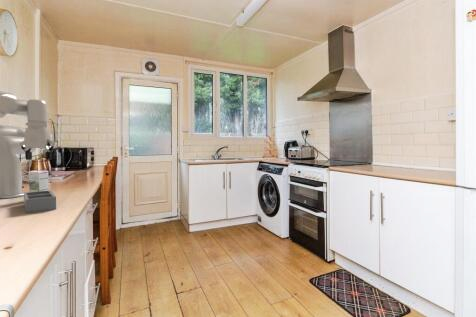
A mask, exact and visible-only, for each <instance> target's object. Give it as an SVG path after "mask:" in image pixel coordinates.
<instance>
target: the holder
mask: <svg viewBox="0 0 476 317" xmlns="http://www.w3.org/2000/svg"><path fill="white" fill-rule="evenodd" d="M23 207H24V210H25V214H29V213H37V212H44V211H45V212H46V211H52V210H57V196H56V195H55V193H54V192H53V191H52V190H48V191H37V192H29V191H27V192H26V193H24V196H23Z"/></svg>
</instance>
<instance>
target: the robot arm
mask: <svg viewBox="0 0 476 317" xmlns="http://www.w3.org/2000/svg"><path fill="white" fill-rule="evenodd" d="M8 114H10V115H16V116H17V115H18V116H26V117H27V118H26V119H27V122H26V123H25V126H27V127H26V128H25V131H24V130H23V129H22V128H21V127H17V126H11V125H10V126H9V125H8V126H7V125H0V199H12V198H19V197H24V193H26V192H25V191H23V176H22V174H23V172H22V162H21V160H20V158H19V157H18V155H24V156H25V157H24V158H25V160H26V161H30V160H33V153H34V152H36V149H44V150H45V160H47V161H50V160H52V159H53V158H52V157H53V151H54V150H55V149H56V146H57V144H58V143H57V142H55V141H53V140H52V139H51V133H50V130H49V128H48V119H47V118H48V116H47V115H48V114H47V102H46V101H45V100H41V99H28V100H25V99H17V97H16V96H15V95H14V94H13V93H10V92H6V91H0V119H2V118H4V117H6V116H7V115H8Z"/></svg>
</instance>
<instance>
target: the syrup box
mask: <svg viewBox="0 0 476 317" xmlns="http://www.w3.org/2000/svg"><path fill="white" fill-rule="evenodd" d="M49 185H50V184H49V171H48V170H30V171H28V186H29V187H28V188H29V189H28V192H37V191H48V190H49V188H50V187H49Z"/></svg>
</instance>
